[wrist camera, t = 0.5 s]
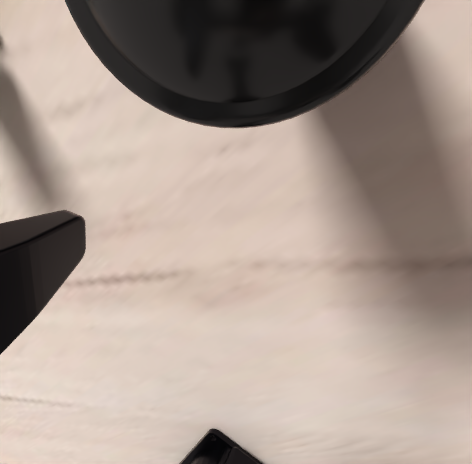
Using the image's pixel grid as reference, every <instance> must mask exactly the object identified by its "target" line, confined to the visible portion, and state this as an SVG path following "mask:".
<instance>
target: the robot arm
mask: <svg viewBox="0 0 472 464" xmlns="http://www.w3.org/2000/svg"><path fill="white" fill-rule="evenodd" d="M85 249H86V236H85V220H84V218H83V217H81V216H80V215H77V214H75V213H72V212H70V211H67V210H62V211H57V212H52V213H47V214H43V215H38V216H33V217H29V218H24V219H19V220H15V221H10V222H5V223H1V224H0V354H1V353H2V352H3V351H4V350H5V349H6V348H7V347H8V346H9V345H10V344H11V343H12V342H13V341H14V340H15V339H16V338H17V337H18V336H19V335H20V334H21V333H22V332H23V331H24V329H25V328H26V327H27V326H28V325H29V324H30V323H31V322H32V321H33V320H34V319H35V318H36V317H37V316H38V314H39V313H40V312H41V311H42V310H43V308H44V307H45V306H46V305H47V303H48V302H49V301H50V299H51V298H52V297H53V296H54V294H55V293H56V292H57V290H58V289H59V288H60V287H61V285H62V284H63V283H64V281H65V280H66V279H67V278H68V276H69V275H70V274H71V272H72V271H73V270H74V269H75V267H76V266H77V265H78V263H79V262H80V261H81V259H82V258H83V256H84V253H85ZM179 464H261V463H260V462H259V461H257V460H256V459H255V458H253V457H252V456H251V455H250V454H248V453H247V452H246V451H244V450H243V449H242V448H240V447H239V446H238V445H236V444H235V443H234V442H233V441H231V440H230V439H229V438H227V437H226V436H225V435H223V434H222V433H221V432H219V431H218V430H216V429H210V430H209V431H208V432H207V433H206V434H205V435H204V437H203V438H202V439H201V440H200V441H199V442H198V443H197V444H196V446H195V447H194V448H193V449H192V450H191V451H190V452H189V453H188V454H187V456H186V457H185V458H184V459H183V460H182V461H181V462H180V463H179Z"/></svg>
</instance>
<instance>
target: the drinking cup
mask: <svg viewBox="0 0 472 464" xmlns="http://www.w3.org/2000/svg"><path fill="white" fill-rule="evenodd" d="M424 1H425V0H65V2H66V4H67V7H68V9H69V11H70V13H71V15H72V17H73V19H74V21H75V23H76V25H77V27H78V28H79V30H80V32H81V34H82V35H83V37H84V39H85V40H86V42H87V43H88V45H89V46H90V48H91V49H92V50H93V52H94V53H95V54H96V56H97V57H98V58H99V59H100V61H101V62H102V63H103V64H104V66H105V67H106V68H107V69H108V70H109V71H110V72H111V73H112V74H113V75H114V76H115V77H116V78H117V79H118V80H119V81H120V82H121V83H122V84H123V85H125V86H126V87H127V88H128V89H129V90H130V91H131V92H133V93H134V94H136V95H137V96H138V97H140V98H141V99H142V100H144V101H145V102H147V103H149V104H150V105H152V106H154V107H155V108H157V109H159V110H161V111H163V112H165V113H167V114H169V115H171V116H174V117H176V118H179V119H182V120H185V121H188V122H191V123H196V124H200V125H204V126H211V127H219V128H248V127H258V126H264V125H269V124H274V123H278V122H281V121H284V120H288V119H291V118H294V117H297V116H299V115H301V114H304V113H306V112H309V111H311V110H313V109H315V108H317V107H319V106H321V105H322V104H324V103H326V102H328V101H330V100H331V99H333V98H335V97H336V96H338V95H339V94H341V93H342V92H344V91H345V90H347V89H348V88H349V87H351V86H352V85H353V84H354V83H356V82H357V81H358V80H359V79H361V78H362V77H363V76H364V75H365V74H366V73H368V72H369V71H370V70H371V69H372V68H373V67H374V66H375V65H376V64H377V63H378V62H379V61H380V60H381V59H382V58H383V57H384V56H385V55H386V53H387V52H388V51H389V50H390V49H391V48H392V47H393V45H394V44H395V43H396V42H397V41H398V39H399V38H400V37H401V35H402V34H403V33H404V31H405V30H406V29H407V27H408V26H409V24H410V23H411V22H412V20H413V19H414V17H415V16H416V14H417V12H418V11H419V9H420V7H421V6H422V4H423V2H424Z"/></svg>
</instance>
